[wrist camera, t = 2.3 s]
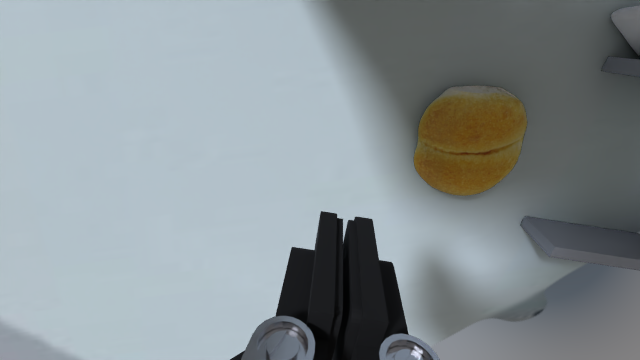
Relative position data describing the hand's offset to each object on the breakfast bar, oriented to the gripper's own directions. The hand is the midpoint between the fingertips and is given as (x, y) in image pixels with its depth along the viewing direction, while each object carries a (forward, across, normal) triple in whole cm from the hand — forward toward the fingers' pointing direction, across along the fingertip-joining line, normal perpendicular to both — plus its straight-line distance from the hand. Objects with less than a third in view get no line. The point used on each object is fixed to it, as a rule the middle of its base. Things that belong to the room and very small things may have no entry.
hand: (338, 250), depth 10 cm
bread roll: (+18, -10, 0) cm, 20 cm away
